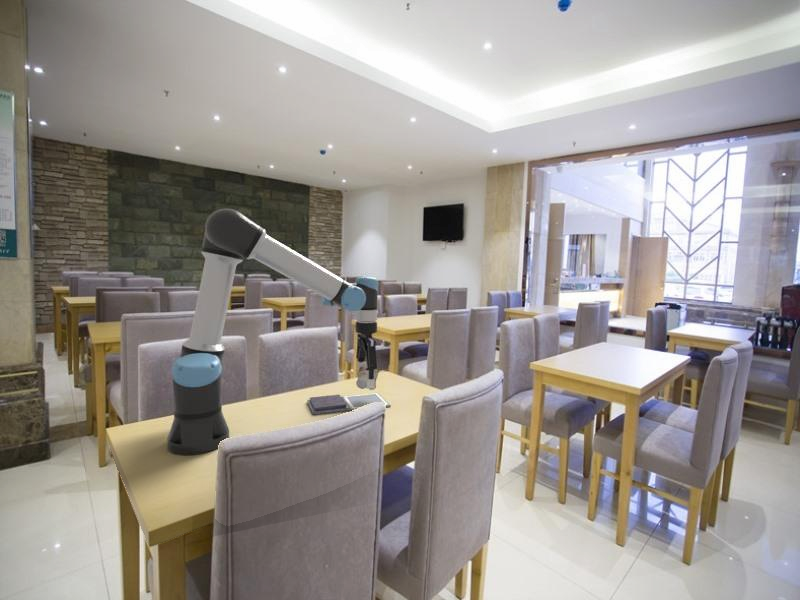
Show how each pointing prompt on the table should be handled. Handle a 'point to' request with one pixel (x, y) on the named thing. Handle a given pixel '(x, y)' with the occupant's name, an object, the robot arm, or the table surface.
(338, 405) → the ink pad
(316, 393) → the table surface
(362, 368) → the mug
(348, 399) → the marked board
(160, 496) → the table surface
